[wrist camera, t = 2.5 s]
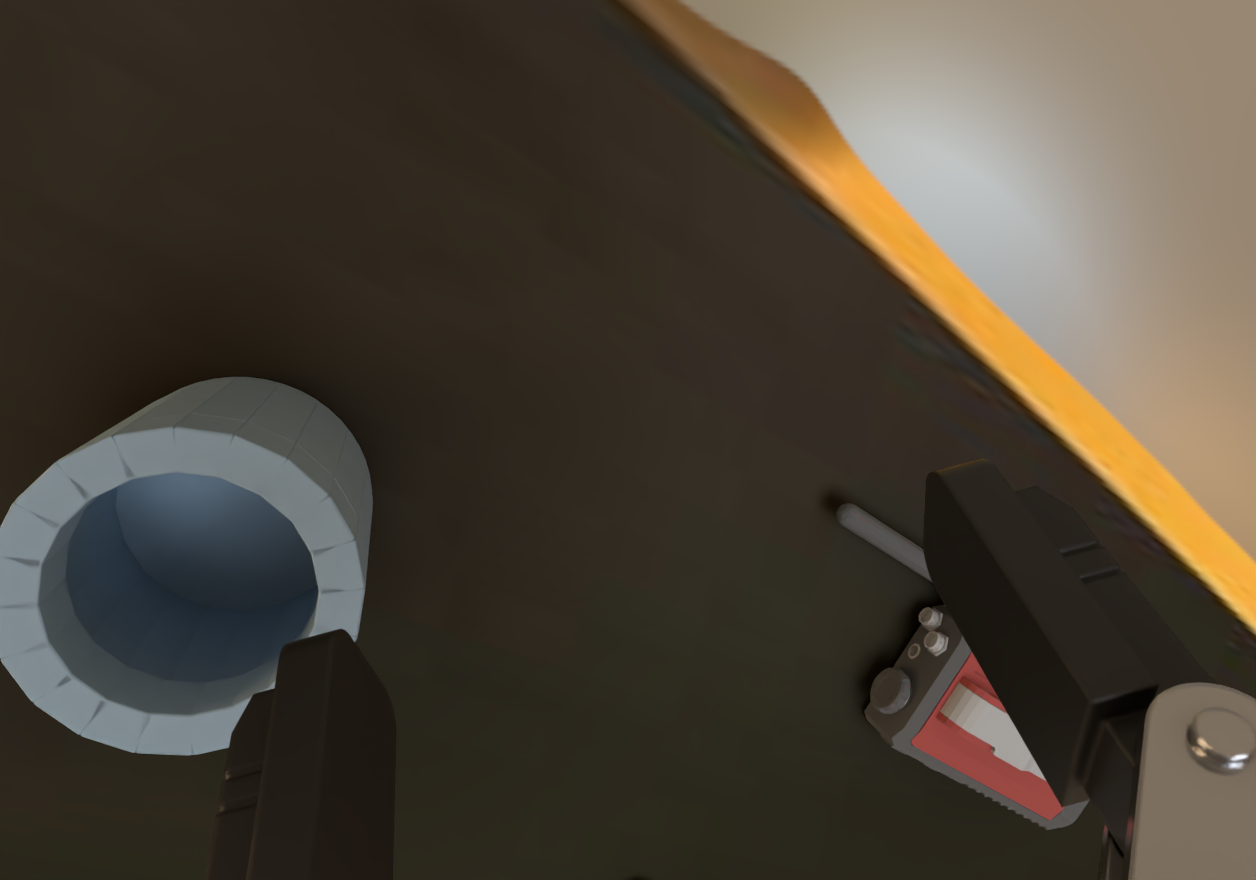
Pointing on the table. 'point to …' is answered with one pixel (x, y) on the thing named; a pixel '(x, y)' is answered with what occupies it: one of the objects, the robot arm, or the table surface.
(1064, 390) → the table surface
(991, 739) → the walkie-talkie
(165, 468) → the jar
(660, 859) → the table surface
